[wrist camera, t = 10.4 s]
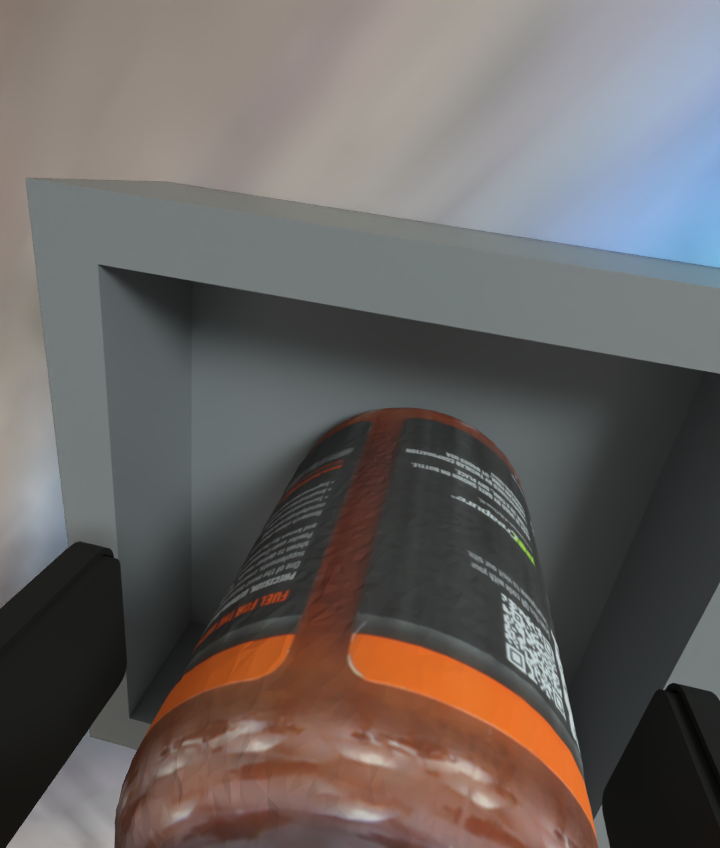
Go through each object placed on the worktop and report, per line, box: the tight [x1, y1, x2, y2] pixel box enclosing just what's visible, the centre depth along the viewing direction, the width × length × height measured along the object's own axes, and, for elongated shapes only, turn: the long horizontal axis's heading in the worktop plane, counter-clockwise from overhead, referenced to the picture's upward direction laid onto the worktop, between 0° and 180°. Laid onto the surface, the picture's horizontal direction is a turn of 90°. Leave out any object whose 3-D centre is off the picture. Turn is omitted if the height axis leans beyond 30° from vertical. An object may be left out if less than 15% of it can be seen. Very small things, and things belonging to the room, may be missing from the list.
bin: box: [26, 178, 720, 848], centre depth 13 cm, size 14×14×4 cm
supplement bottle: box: [115, 408, 599, 848], centre depth 9 cm, size 6×6×11 cm
